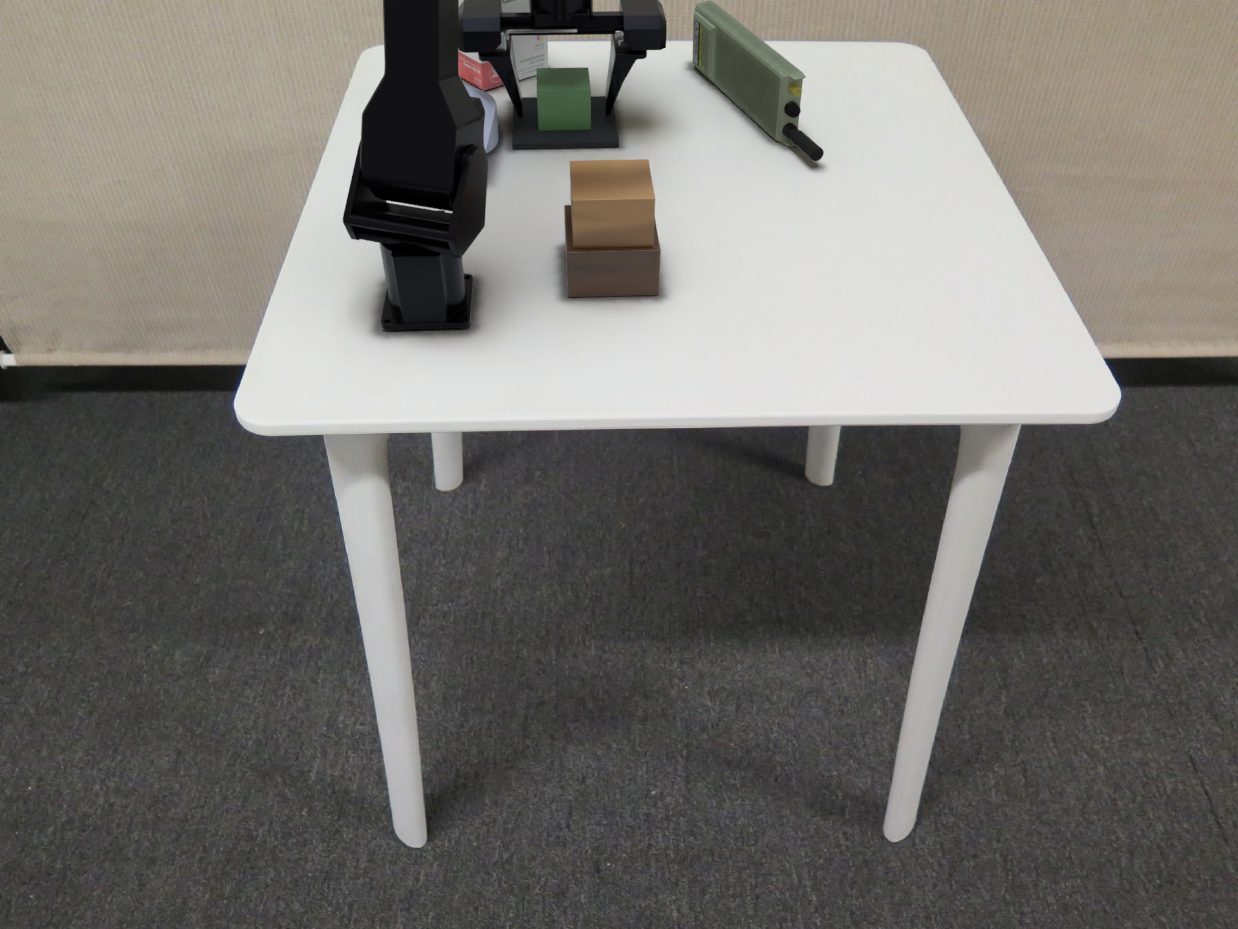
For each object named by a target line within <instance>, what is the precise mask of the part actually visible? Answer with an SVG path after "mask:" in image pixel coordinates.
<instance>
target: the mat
mask: <svg viewBox="0 0 1238 929" xmlns="http://www.w3.org/2000/svg"><path fill="white" fill-rule="evenodd" d="M522 106H523V117H518V114H517V112H516V110H515V108H514V106H513V105H512V137H511V138H512V140H511V143H512V145H511V146H512V150H532V149H533V150H538V149H539V150H540V149H541V150H542V149H543V150H544V149H591V148H592V149H593V148H594V149H595V148H619V147H620V140H619V132H618V125H617V118H616V117H617V116H616V110H615V105H614V106H613V109H612V111H611V114H610V116H606V114H605V95H596V96H595V95H593V96H592V95H591V130H559V131H539V129H538V107H537V96H533V97H532V96H529V97H527V96H526V97H523V96H522Z"/></svg>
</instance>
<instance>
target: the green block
mask: <svg viewBox="0 0 1238 929" xmlns="http://www.w3.org/2000/svg"><path fill="white" fill-rule="evenodd" d="M535 76H536V97H537V107H538V129H539V131H559V130H591V96H592V93H591V92H592V91H591V90H592V89H591V80H590V71H589V67H586V66H585V67H548V68H537V69H536V75H535Z"/></svg>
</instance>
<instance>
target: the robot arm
mask: <svg viewBox="0 0 1238 929" xmlns="http://www.w3.org/2000/svg"><path fill="white" fill-rule="evenodd" d="M618 4H619V5H618V7H619V8H618V9H619V10H615V11H612V10H611V11H609V10H608V11H606V10H605V11H601V10H600V11H594V0H529V6H530V12H515V13H502V3H501V0H464V1H463V2H462V4H461V5H460V6H459V0H382V16H383V18H382V20H383V21H382V22H383V48H384V49H383V50H384V52H383V55H384V58H383V59H384V71H383V72H384V73H383V75H382V78H381V79H380V80H379V83H378V85H377V86H376V88H375V90H374V91H373V93H372V95H371V96H370V99H369V100H368V102H367V104H366V105H365V107H364V109H363V111H362V112H361V128H360V140H359V142H358V143H359V144H358V147H357V151H356V157H355V160H354V166H353V169H352V170H353V171H352V174H351V177H350V178H351V179H350V183H349V184H350V185H349V187H348V193H347V197H346V201H345V206H344V212H343V215H342V223H343V226H344V227H345V229H346V232H347V233H348V236H349V238H350V239H351V240H355V241H360V240H362V241H367V242H373V243H379V249H380V254H381V261H382V265H383V271H384V277H385V283H386V291H385V295H384V296H385V297H384V301H383V307H382V312H381V318H380V326H381V328H382V329H383V330H387V331H394V330H395V331H396V330H397V331H399V330H424V329H425V330H429V329H430V330H431V329H435V330H436V329H463V328H469V327H470V326H471V322H472V311H473V310H472V309H473V294H474V276H473V275H472V274H471V273H465V272H464V263H463V256H464V254H466V252H467V251H468V249H469V248H470V247H471V245H473V243H474V241H476V239H477V238H478V236H479V235H480V233H481V232H482V231H483V230H484V229H485V225H486V211H487V210H486V208H487V193H488V192H487V191H488V177H489V176H488V172H489V160H488V155H487V154H488V153H487V154H486V152H485V148H484V121H485V109H484V107H483V104H482V101H481V99H480V98H478V97H471V96H470V95H469V93H468V91H467V89H466V88H465V86H464V85H465V84H464V82H463V80H462V77H460V76H459V69H458V48H459V51H461V52H464V53H478V57H479V60H480V61H488V62H490V63H491V65H492V66H493V68H494V69H495V71H496V73H497V74H498V76H499V77H500V79H501V81H502V82H503V84H504V85H503V86H504V88H505V90H506V92H507V94H508V96H509V99H510V101H511V103H512V107H513V106H514V108H515V110H516V112H517V114H518V117H523V106H522V97H523V94H522V90H521V89H522V88H521V83H520V80H519V78H518V72H517V67H516V61H515V56H514V49H513V41H512V36H523V35H547V36H582V35H583V36H584V35H585V36H588V35H590V36H591V35H593V36H594V35H596V36H599V35H600V36H601V35H611V36H610V49H609V50H610V51H609V60H608V69H607V77H606V86H605V92H604V94H605V95H604V96H605V114H606V116H610V114H611V111H612V109H613V106H614V107H615V103H616V101H617V99H618V96H619V93H620V91H621V89H622V86H623V84H624V83H625V80H626V78H627V77H628V75H629V74H630V72H631V70H632V68H633V66H634V65H635V64H636V61H638V60H644V59H646V58H647V57H648V56H647V55H648V51H661V50H664V49H666V48H667V33H668V32H667V17H666V14H665V11H664V6H663V4H662V3H661V1H660V0H619V3H618ZM399 203H400V204H399ZM411 205H412V206H411Z"/></svg>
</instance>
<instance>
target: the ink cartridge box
mask: <svg viewBox="0 0 1238 929" xmlns="http://www.w3.org/2000/svg"><path fill="white" fill-rule="evenodd" d="M463 1H464V0H459V6H460V5H461V4H462V2H463ZM501 3H502V13H515V12H530V6H529V0H501ZM512 41H513V49H514V56H515V61H516V67H517V72H518V78H519V81H521V80H525V79H527V78H531V77H535V76H536V69H537V68H549V45H548V44H549V43H548V35H523V36H512ZM458 70H459V77H460V78H461V79H464V80H466V81H468V82H469V83H471V84H472V85H474V86H475V87H477V88H478V89H480V90H482V91H487V90H490V89H493V88H494V89H495V88H497V87H500V86H504V84H503V82H502V81H501V79H500V77H499V76H498V74H497V73H496V71H495V69H494V68H493V66H492V65H491V63H490V62H488V61H480V60H479V57H478V53H464V52H461V51H459V48H458Z"/></svg>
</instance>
